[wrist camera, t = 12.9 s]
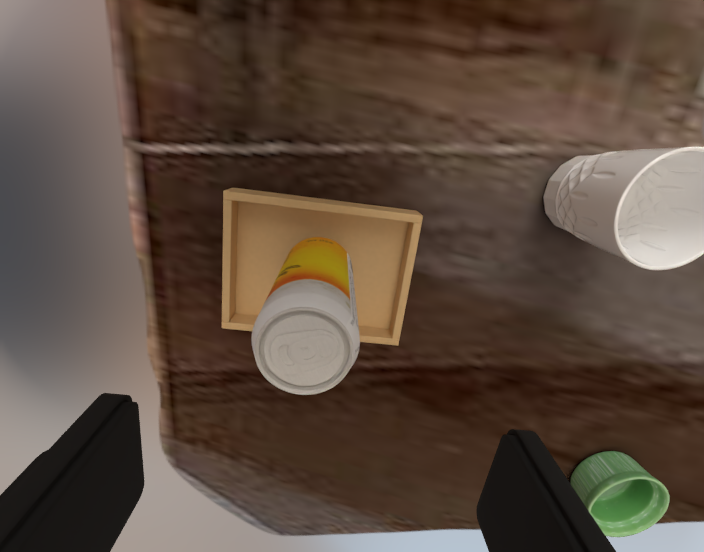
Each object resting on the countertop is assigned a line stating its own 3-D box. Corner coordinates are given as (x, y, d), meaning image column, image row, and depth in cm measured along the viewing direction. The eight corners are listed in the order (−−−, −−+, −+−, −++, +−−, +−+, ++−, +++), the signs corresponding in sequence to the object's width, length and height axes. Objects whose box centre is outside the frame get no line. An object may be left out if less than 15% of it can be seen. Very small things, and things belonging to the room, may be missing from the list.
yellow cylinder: (277, 243, 33) (230, 316, 19) (343, 227, 32) (346, 289, 18) (296, 303, 35) (266, 410, 21) (358, 289, 34) (371, 388, 20)
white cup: (604, 241, 34) (705, 277, 25) (524, 230, 34) (596, 262, 24) (637, 154, 32) (764, 157, 22) (552, 140, 31) (644, 137, 22)
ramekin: (556, 501, 45) (578, 537, 41) (575, 444, 42) (601, 476, 38) (625, 503, 46) (653, 538, 42) (649, 446, 43) (682, 478, 39)
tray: (232, 187, 32) (223, 190, 29) (417, 210, 33) (423, 215, 30) (229, 316, 36) (221, 328, 33) (394, 332, 37) (398, 345, 34)
